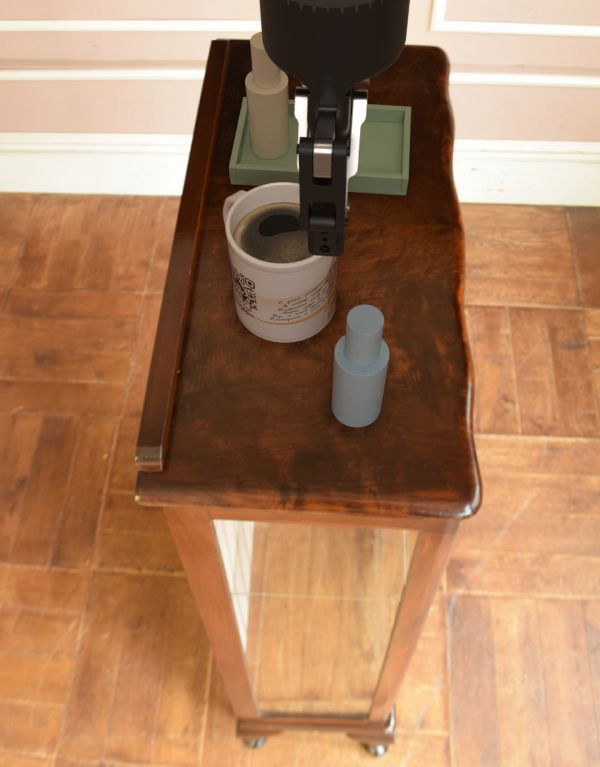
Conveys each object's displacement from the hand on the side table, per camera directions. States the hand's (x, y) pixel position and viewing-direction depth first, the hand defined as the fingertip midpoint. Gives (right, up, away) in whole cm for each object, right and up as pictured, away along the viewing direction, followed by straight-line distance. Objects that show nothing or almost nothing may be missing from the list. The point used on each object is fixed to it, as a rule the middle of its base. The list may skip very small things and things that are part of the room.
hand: (332, 202), depth 51 cm
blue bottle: (+3, -14, +18) cm, 23 cm away
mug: (-4, -3, +25) cm, 26 cm away
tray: (0, +14, +35) cm, 38 cm away
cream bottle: (-5, +15, +35) cm, 39 cm away
